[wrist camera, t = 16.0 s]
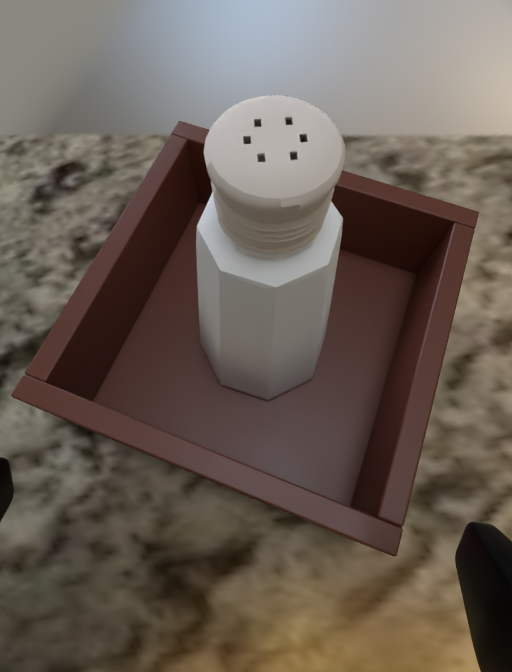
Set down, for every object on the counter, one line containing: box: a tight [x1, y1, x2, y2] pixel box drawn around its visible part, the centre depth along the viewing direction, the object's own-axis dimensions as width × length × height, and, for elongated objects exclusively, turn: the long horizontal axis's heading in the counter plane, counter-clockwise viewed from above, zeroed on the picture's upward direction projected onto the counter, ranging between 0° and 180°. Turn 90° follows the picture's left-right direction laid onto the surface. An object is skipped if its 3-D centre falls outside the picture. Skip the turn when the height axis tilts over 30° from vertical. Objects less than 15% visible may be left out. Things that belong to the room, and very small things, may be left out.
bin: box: [11, 121, 479, 556], centre depth 17 cm, size 13×13×5 cm
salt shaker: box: [196, 95, 345, 401], centre depth 13 cm, size 5×5×11 cm
